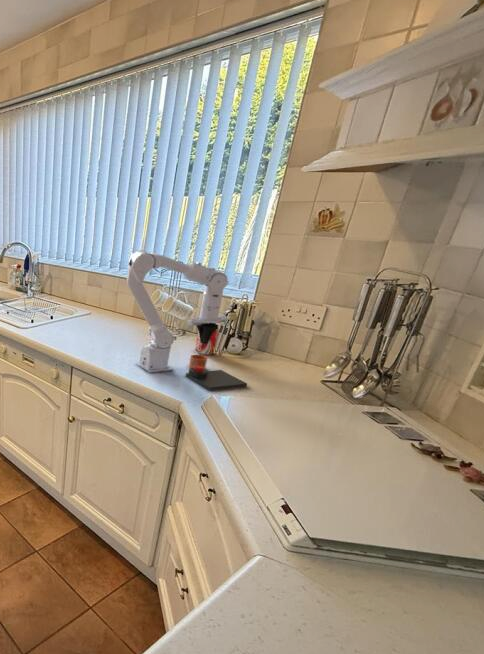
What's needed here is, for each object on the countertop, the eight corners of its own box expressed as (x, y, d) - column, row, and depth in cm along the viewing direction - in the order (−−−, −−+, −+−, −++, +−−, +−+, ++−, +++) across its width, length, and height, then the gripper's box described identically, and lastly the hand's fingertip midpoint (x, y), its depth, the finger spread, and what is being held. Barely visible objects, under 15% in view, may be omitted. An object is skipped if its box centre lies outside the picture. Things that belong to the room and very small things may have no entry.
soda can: (212, 356, 157) (218, 328, 153) (192, 353, 161) (198, 325, 157) (215, 351, 163) (221, 324, 158) (196, 348, 167) (201, 321, 162)
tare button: (197, 373, 136) (198, 368, 136) (192, 370, 139) (193, 365, 138) (204, 372, 137) (205, 368, 136) (199, 369, 139) (200, 365, 139)
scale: (209, 391, 129) (211, 382, 128) (184, 375, 141) (185, 368, 140) (246, 387, 132) (248, 379, 130) (218, 372, 143) (220, 364, 142)
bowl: (195, 371, 144) (197, 360, 142) (185, 366, 149) (187, 355, 147) (208, 370, 145) (210, 359, 143) (198, 365, 150) (200, 354, 148)
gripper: (200, 310, 132) (193, 348, 137) (237, 307, 134) (229, 344, 139) (186, 306, 138) (180, 342, 143) (222, 302, 141) (215, 338, 146)
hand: (203, 343), depth 142 cm, fingers closed
